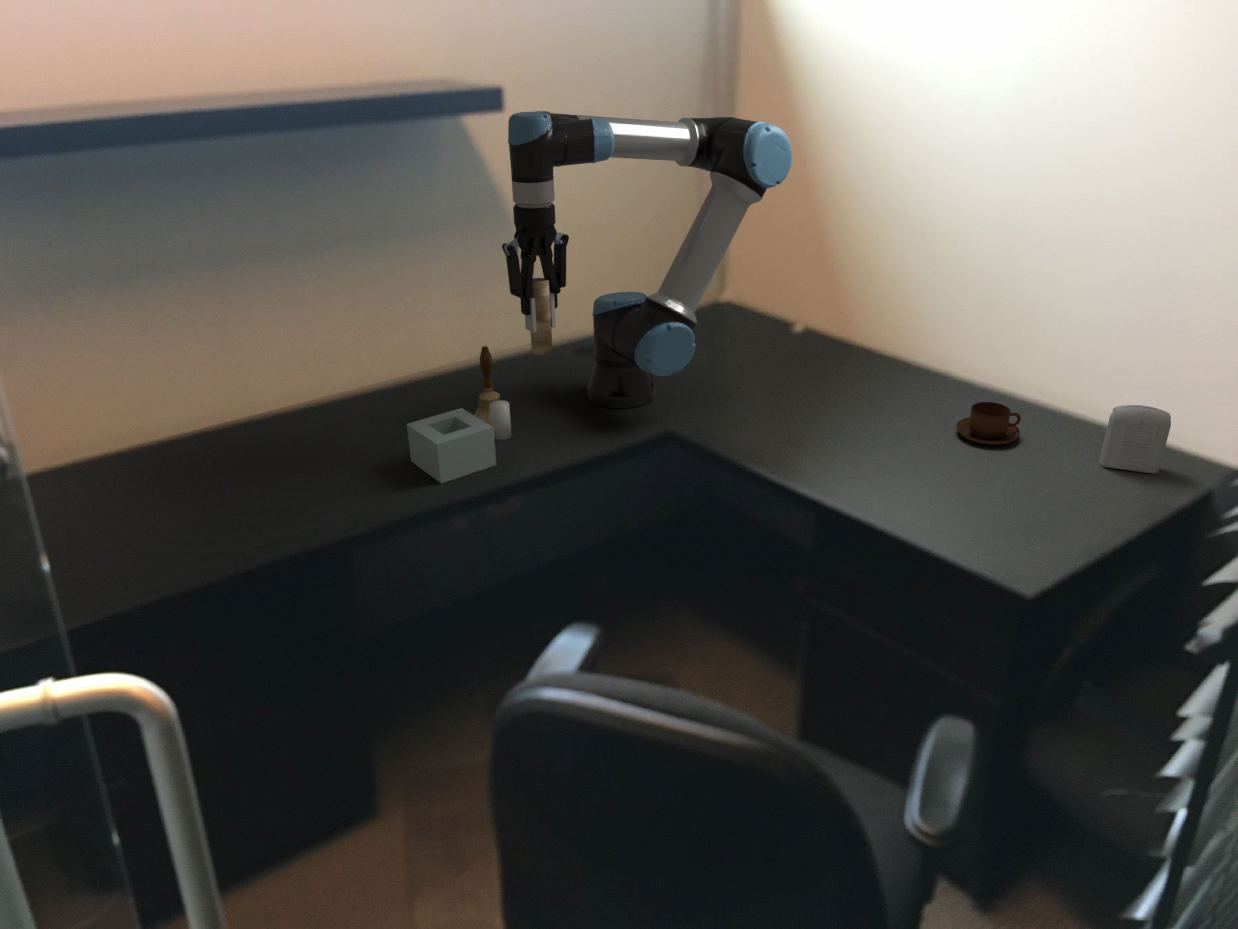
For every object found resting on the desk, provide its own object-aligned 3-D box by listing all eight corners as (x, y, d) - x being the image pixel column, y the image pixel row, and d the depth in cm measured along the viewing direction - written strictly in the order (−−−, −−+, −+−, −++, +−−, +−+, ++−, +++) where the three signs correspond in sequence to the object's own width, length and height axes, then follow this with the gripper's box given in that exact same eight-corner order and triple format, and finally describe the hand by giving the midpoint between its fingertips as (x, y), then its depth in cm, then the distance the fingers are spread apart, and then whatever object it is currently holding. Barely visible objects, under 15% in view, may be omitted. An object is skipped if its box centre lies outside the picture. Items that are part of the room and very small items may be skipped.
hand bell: (463, 422, 211) (457, 350, 204) (486, 408, 217) (480, 338, 210) (496, 429, 207) (490, 356, 200) (518, 414, 214) (513, 344, 207)
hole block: (465, 444, 201) (461, 407, 197) (496, 465, 192) (493, 427, 188) (411, 461, 194) (406, 423, 190) (441, 483, 185) (437, 444, 182)
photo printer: (1157, 466, 187) (1172, 405, 181) (1160, 476, 183) (1176, 414, 178) (1097, 458, 190) (1111, 398, 185) (1099, 468, 187) (1113, 407, 181)
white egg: (504, 429, 207) (502, 398, 204) (515, 436, 204) (512, 404, 201) (488, 435, 205) (485, 403, 201) (498, 441, 202) (495, 409, 199)
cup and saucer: (991, 421, 207) (996, 393, 204) (1031, 444, 197) (1036, 415, 194) (942, 430, 203) (946, 402, 201) (980, 454, 193) (985, 425, 190)
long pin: (545, 346, 194) (541, 276, 188) (556, 352, 192) (552, 280, 185) (527, 351, 192) (523, 280, 186) (539, 356, 189) (534, 285, 183)
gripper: (559, 193, 187) (565, 314, 197) (482, 206, 178) (492, 332, 188) (583, 199, 181) (587, 323, 192) (505, 213, 172) (514, 342, 183)
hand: (540, 327), depth 190 cm, fingers closed on long pin, 4 cm apart
